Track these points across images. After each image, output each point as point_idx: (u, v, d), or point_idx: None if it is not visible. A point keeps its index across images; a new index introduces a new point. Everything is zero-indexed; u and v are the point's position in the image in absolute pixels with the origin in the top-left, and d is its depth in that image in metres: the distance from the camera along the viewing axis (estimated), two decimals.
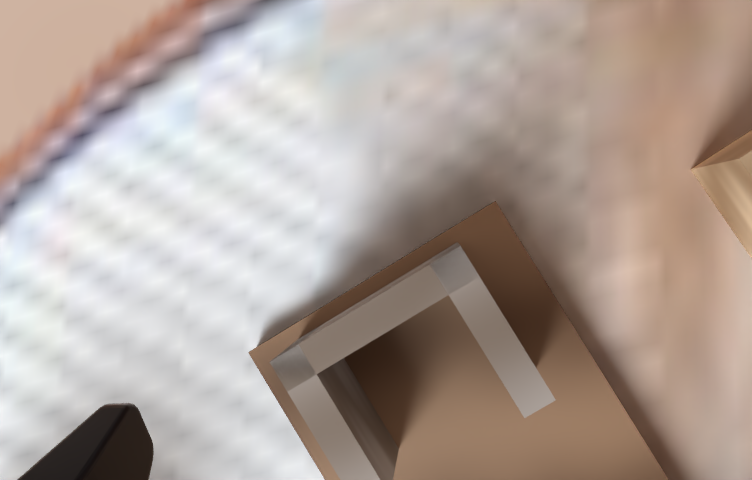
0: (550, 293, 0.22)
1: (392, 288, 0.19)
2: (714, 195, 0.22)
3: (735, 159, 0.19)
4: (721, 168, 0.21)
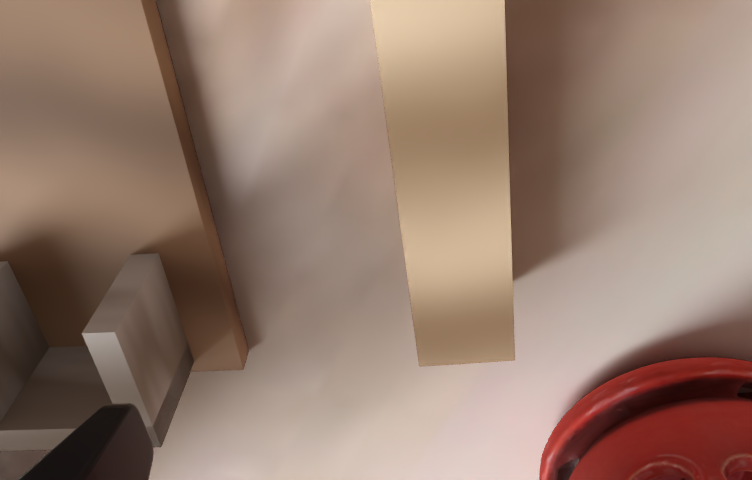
0: None
1: None
2: None
3: None
4: None
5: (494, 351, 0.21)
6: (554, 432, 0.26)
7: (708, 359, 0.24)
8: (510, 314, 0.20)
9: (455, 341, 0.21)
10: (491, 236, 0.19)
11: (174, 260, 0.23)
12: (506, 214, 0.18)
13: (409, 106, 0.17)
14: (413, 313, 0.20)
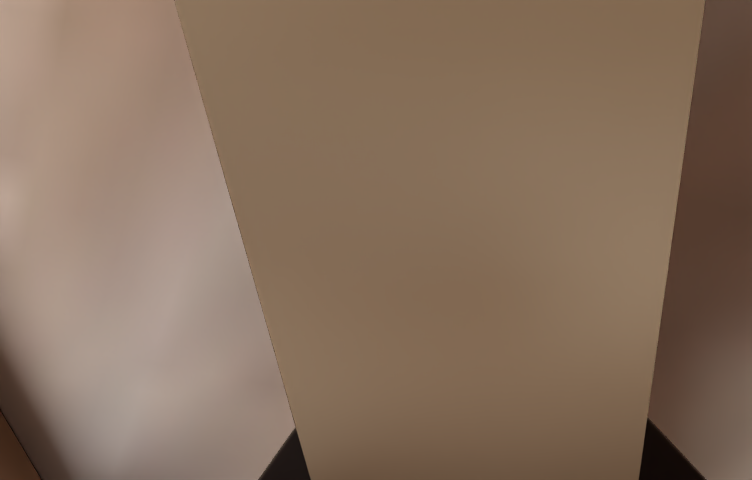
0: None
1: None
2: None
3: None
4: None
5: None
6: None
7: None
8: None
9: None
10: None
11: None
12: None
13: None
14: None
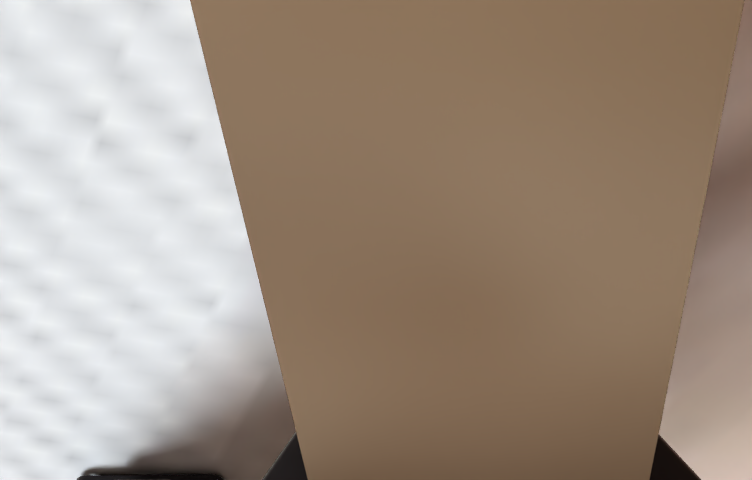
0: None
1: None
2: None
3: None
4: None
5: None
6: None
7: None
8: None
9: None
10: None
11: None
12: None
13: None
14: None
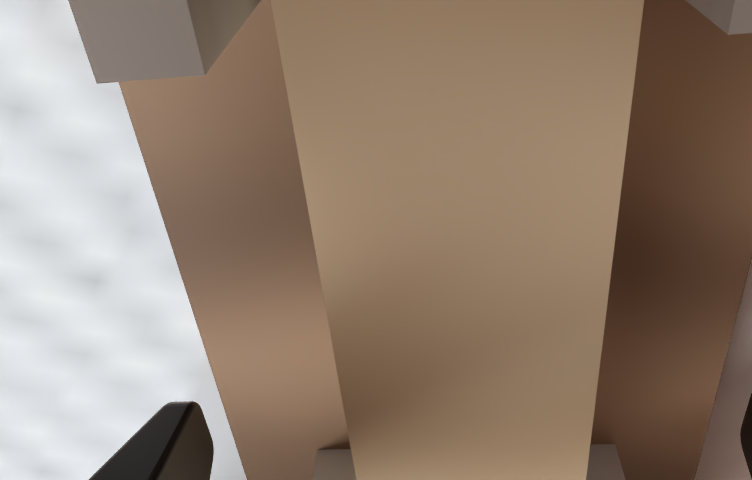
0: None
1: None
2: None
3: None
4: None
5: None
6: None
7: None
8: None
9: None
10: None
11: (636, 453, 0.14)
12: None
13: (394, 407, 0.08)
14: None
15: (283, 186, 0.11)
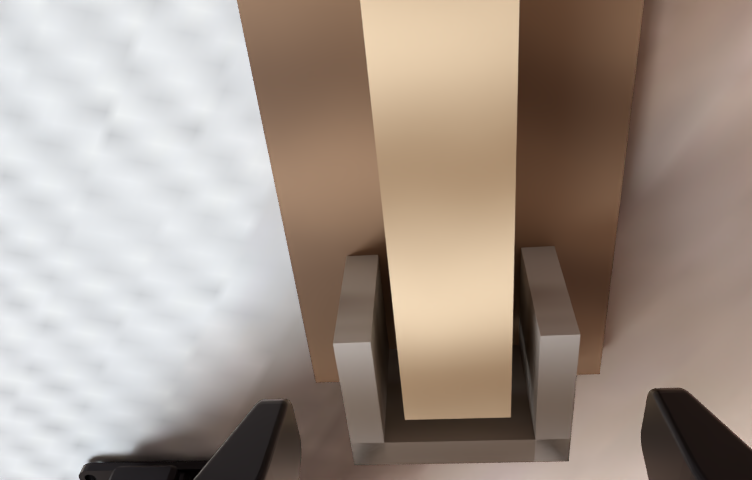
0: None
1: None
2: None
3: None
4: None
5: (488, 407, 0.19)
6: None
7: None
8: (508, 369, 0.18)
9: (446, 395, 0.19)
10: (491, 286, 0.16)
11: (569, 254, 0.21)
12: (509, 263, 0.16)
13: (403, 141, 0.14)
14: (400, 364, 0.18)
15: (331, 45, 0.17)
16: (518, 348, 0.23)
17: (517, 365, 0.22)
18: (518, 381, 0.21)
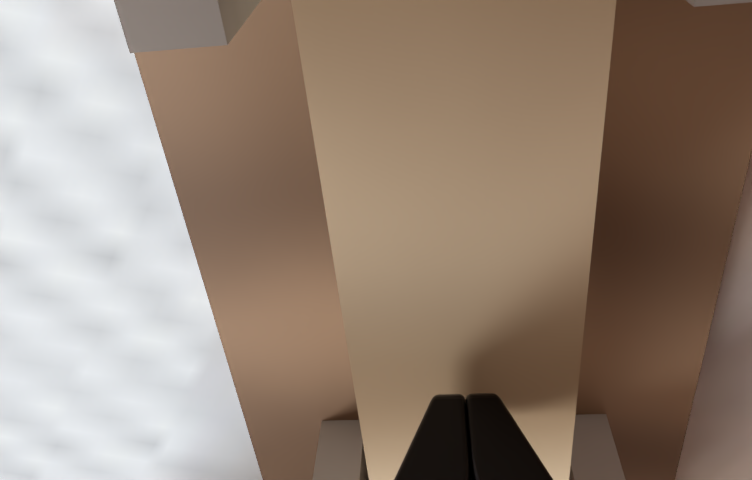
0: None
1: None
2: None
3: None
4: None
5: None
6: None
7: None
8: None
9: None
10: None
11: (626, 423, 0.15)
12: None
13: (396, 359, 0.09)
14: None
15: (291, 163, 0.12)
16: None
17: None
18: None
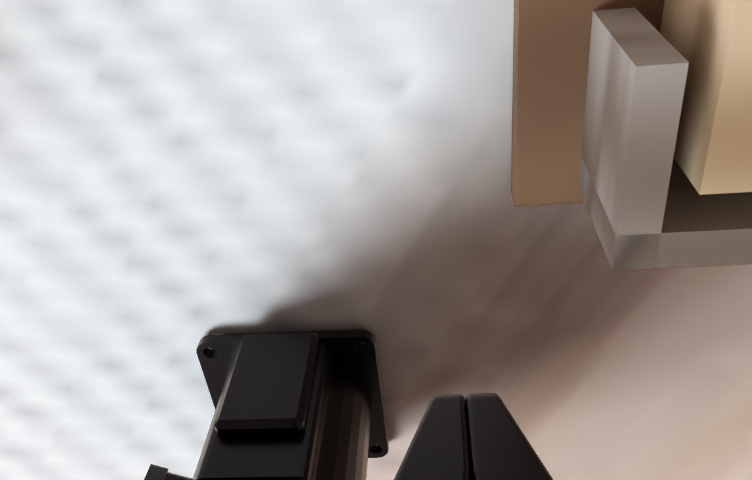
0: None
1: None
2: None
3: None
4: None
5: None
6: None
7: None
8: None
9: None
10: None
11: None
12: None
13: None
14: (719, 100, 0.14)
15: None
16: None
17: None
18: None
